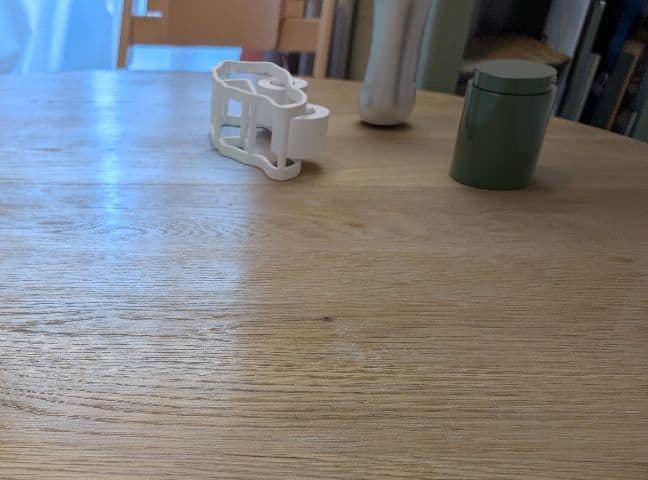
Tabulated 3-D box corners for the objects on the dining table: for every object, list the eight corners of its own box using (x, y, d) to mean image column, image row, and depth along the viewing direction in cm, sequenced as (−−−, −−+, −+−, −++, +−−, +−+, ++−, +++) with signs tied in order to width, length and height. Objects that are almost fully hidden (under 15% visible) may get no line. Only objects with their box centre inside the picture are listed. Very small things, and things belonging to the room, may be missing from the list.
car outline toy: (331, 179, 87) (341, 106, 83) (224, 182, 87) (228, 109, 83) (294, 120, 104) (301, 57, 99) (204, 123, 104) (206, 60, 99)
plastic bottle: (343, 119, 104) (368, -68, 92) (392, 112, 105) (422, -72, 94) (372, 134, 99) (402, -61, 87) (423, 127, 100) (459, -65, 89)
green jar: (531, 166, 89) (559, 61, 83) (534, 193, 83) (564, 82, 76) (450, 159, 91) (472, 56, 85) (447, 185, 85) (470, 76, 79)
